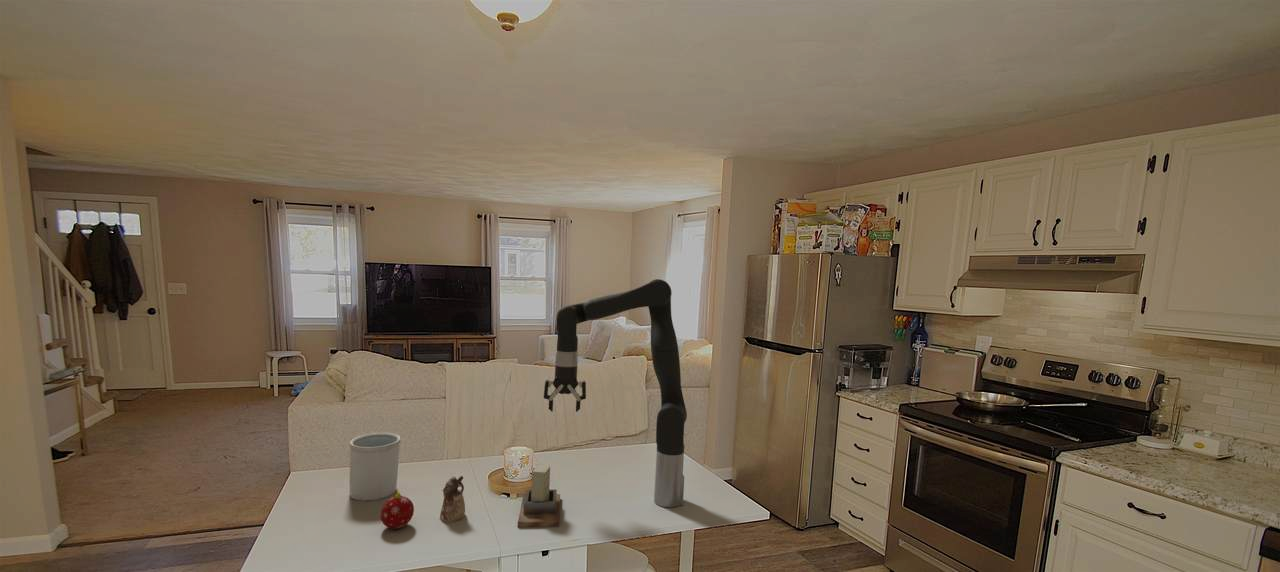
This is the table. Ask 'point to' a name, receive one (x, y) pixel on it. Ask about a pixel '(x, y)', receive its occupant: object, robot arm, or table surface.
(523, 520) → the keeper board
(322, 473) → the table surface
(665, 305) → the robot arm
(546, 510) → the collar
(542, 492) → the skincare box
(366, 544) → the table surface
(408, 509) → the christmas ornament
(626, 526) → the table surface
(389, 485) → the utensil holder
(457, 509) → the figurine
